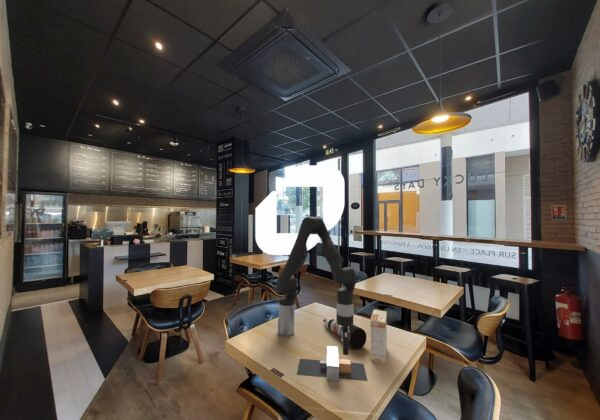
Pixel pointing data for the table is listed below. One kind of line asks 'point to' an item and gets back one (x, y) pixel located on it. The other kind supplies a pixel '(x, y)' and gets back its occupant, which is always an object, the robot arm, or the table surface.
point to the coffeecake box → (379, 336)
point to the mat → (314, 369)
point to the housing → (332, 363)
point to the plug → (343, 365)
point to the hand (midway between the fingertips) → (344, 349)
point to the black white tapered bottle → (355, 334)
